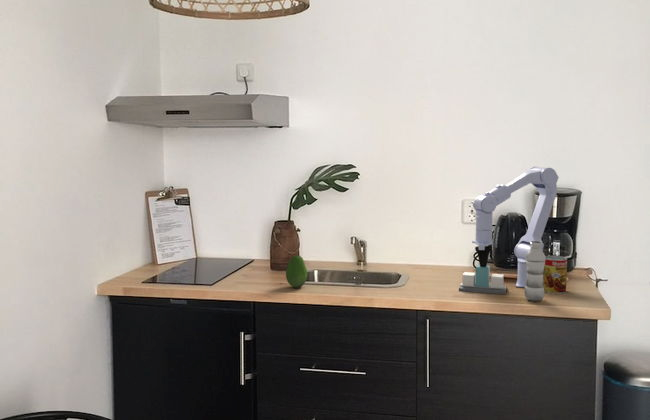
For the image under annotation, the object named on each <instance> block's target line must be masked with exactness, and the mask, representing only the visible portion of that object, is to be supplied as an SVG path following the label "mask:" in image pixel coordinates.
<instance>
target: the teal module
mask: <svg viewBox="0 0 650 420" xmlns="http://www.w3.org/2000/svg"><path fill="white" fill-rule="evenodd" d="M490 268H491V265H487V266H486V267H480V264H477V265H476V267H475V286H478V287H489V284H490V283H491V276H490V273H491V272H490V270H491V269H490Z"/></svg>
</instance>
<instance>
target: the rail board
mask: <svg viewBox="0 0 650 420" xmlns="http://www.w3.org/2000/svg"><path fill="white" fill-rule="evenodd" d="M504 277H505V276H504V273H503V274H499V273H492V274H491V276H490V283H489V287H478V286H475V282H476V272H470V271H464V272H463V273H462V282H461V283H460V284H459V286H458V292H469V293H471V292H472V293H482V294H484V293H485V294H497V295H505V294H506V291H507V288H508V287H507V285H504V279H505V278H504Z"/></svg>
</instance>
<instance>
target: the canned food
mask: <svg viewBox="0 0 650 420" xmlns="http://www.w3.org/2000/svg"><path fill="white" fill-rule="evenodd" d="M545 258H546V260H545V266H544V273H543V285H544V292H545V293H549V294H565V293H566V292H567V275H568V273H567V272H568V269H567V268H568V257H565V256H560V255H545Z"/></svg>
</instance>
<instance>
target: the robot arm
mask: <svg viewBox="0 0 650 420" xmlns="http://www.w3.org/2000/svg"><path fill="white" fill-rule="evenodd" d="M558 180H559V176H558V174H557V171H556V170H555V169H554V168H552V167H539V166H531V168H528V169H526V170H525V171H524V173H522V174H521V175H519V176H518V177H516V178H515V179H514V180H512V181H510V182H508V183H507V184H506V185H505V184H497V185H495V188H493V189H492V190H490V191H486V192H484V195H478V196H477V197H476V198H475V199H474V201H473V202H472V207H473V209H474V210H475V239H474V240H472V244H475V245H477V246H475V247H474V249H475V252H476V254H477V257H478V265H480V267H486V266H488V262H489V261H488V260H489V256H490V253H491V250H492V248H493V246H492V245H493V212H494V211H495V210H496V208H497V206H499V205H501V204H503V203H504V202H505V201H507V200H509V199H510V198H511V196H512V194H513V193H514V192H516V191H518V190H520V189H522V188H524V187H526V186H528V185H529V184H531V185H532V186H533V187H535V189H536V190H537V191H538V193H539V196H538V199H537V202H536V204H535V206H534V210H533V214H532V216H531V219H530V221H529V224H528V227H527V228H528V229H527V230H526V232H525V235H523V236H521V238H520V239H519V241H518V243H517V244H516V245H515V247H514V249H513V252H514V253H513V254H514V255H515V257H516V258H517V280H516V284H515V288H525V286H526V280H527V266H526V255H527V253H528V252H529V250H530V249H531V247H530V242H531V241H540V242H542V248H541V250H542V251H543V250H544V248H545V247H544V246H545V245H544V243H543V240H542V238H543V235H544V231H545V228H546V226H547V222H548V220H549V217H550V215H551V211H552V208H553V206H554V202H555V199H556V197H557V189H558V188H557V187H558V186H557V183H558ZM543 252H544V251H543Z"/></svg>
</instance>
